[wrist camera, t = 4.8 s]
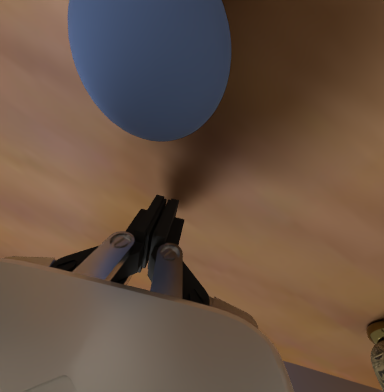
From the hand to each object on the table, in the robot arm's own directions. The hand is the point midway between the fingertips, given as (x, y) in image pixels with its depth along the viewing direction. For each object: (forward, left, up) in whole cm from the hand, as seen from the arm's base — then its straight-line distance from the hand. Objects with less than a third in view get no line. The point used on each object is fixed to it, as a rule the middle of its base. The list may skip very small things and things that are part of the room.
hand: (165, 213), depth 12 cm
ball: (+1, -8, +2) cm, 9 cm away
